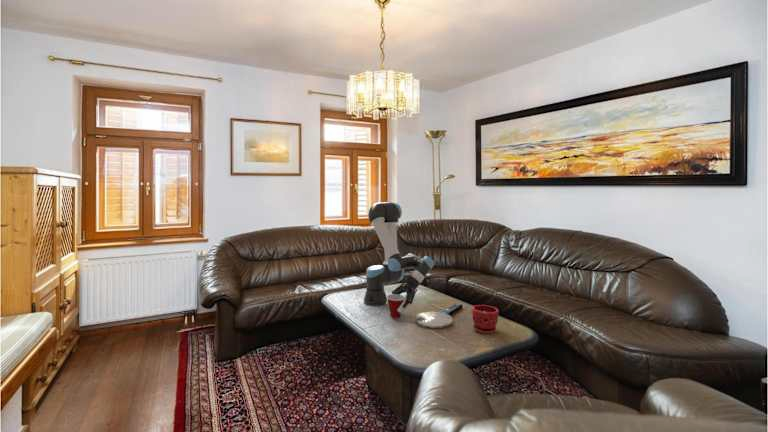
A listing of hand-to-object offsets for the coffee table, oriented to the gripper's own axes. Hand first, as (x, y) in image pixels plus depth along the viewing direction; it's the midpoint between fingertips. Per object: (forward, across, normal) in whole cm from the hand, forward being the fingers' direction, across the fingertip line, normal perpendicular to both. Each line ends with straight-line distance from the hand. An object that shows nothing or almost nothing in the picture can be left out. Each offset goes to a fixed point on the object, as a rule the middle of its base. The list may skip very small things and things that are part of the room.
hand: (393, 308), depth 213 cm
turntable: (-8, -18, -15) cm, 25 cm away
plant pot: (-19, -40, -27) cm, 52 cm away
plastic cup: (+2, 0, -5) cm, 6 cm away
